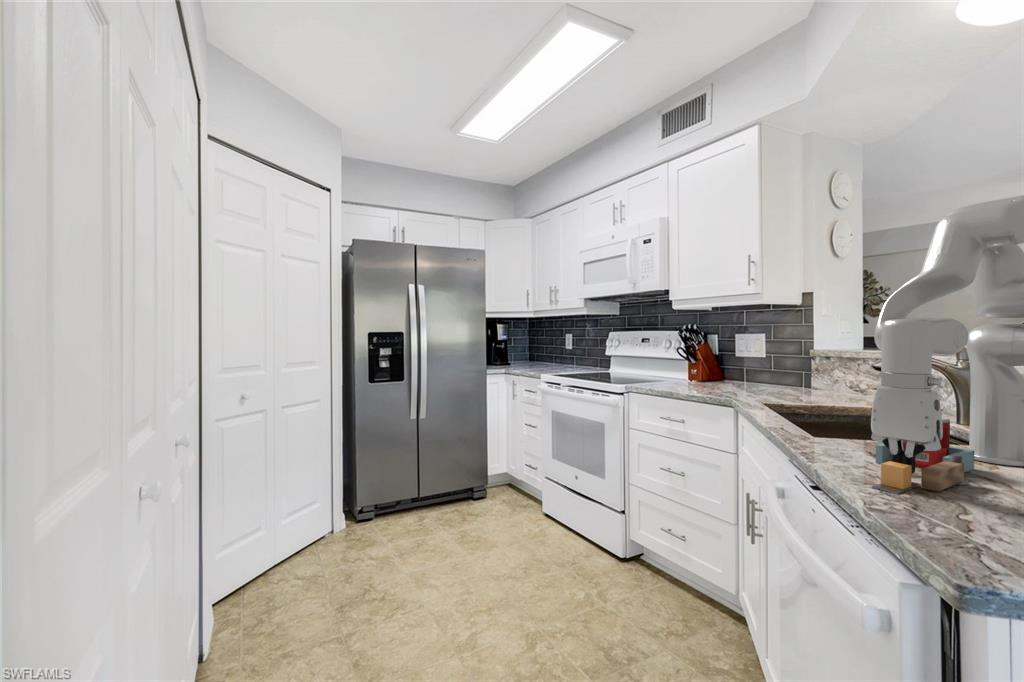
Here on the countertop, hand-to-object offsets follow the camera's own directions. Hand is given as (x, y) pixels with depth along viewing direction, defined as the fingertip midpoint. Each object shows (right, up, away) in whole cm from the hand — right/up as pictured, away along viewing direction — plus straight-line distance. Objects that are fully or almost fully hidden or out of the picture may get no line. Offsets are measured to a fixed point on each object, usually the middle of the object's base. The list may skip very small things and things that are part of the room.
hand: (903, 475), depth 90 cm
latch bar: (+6, -1, -2) cm, 7 cm away
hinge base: (+11, -2, +1) cm, 11 cm away
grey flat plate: (-3, -2, -1) cm, 3 cm away
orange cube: (-3, -2, -2) cm, 4 cm away
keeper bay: (+15, -2, +13) cm, 20 cm away
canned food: (+16, -2, +13) cm, 20 cm away
